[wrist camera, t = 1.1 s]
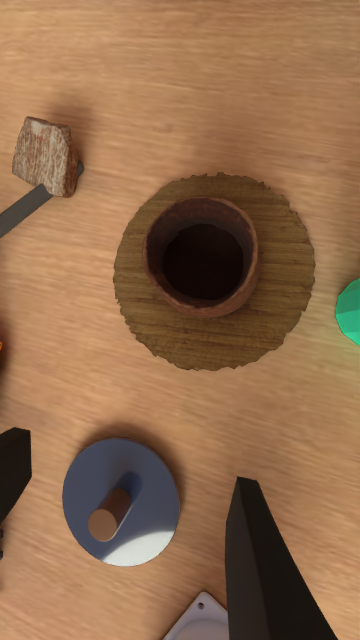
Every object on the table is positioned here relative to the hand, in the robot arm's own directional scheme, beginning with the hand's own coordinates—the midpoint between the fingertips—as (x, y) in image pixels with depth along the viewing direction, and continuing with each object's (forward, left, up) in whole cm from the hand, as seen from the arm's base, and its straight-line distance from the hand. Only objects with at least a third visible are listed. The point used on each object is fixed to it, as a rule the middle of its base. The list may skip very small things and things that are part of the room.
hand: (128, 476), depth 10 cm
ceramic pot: (+9, +5, -16) cm, 19 cm away
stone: (+9, +24, -16) cm, 30 cm away
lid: (-12, -1, -16) cm, 19 cm away
